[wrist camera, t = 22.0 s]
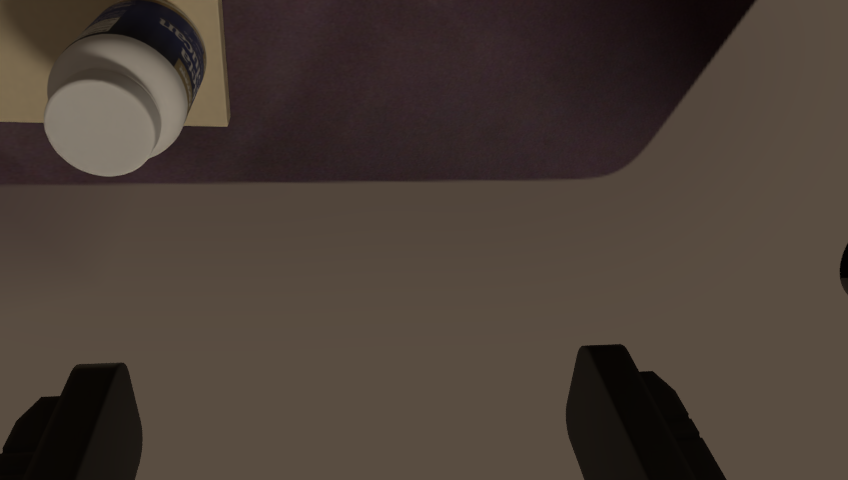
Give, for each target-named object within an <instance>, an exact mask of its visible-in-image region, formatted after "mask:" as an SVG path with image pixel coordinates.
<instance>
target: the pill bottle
mask: <svg viewBox="0 0 848 480" xmlns="http://www.w3.org/2000/svg"><path fill="white" fill-rule="evenodd" d="M206 66H207V53H206V47H205V44H204V40H203V38H202V36H201V34H200V32H199V30H198V29H197V27H196V25H195V24H194V23H193V22H192V21H191V19H190V18H189V17H188V16H187V15H186V14H184V13H183V12H182V11H181V10H179V9H178V8H177V7H175V6H173V5H172V4H170V3H168V2H165V1H163V0H120V1H118V2H116V3H114V4H112V5H111V6H109V7H108V8H107V9H105V10H104V11H103V12H102V13H101V14H100V15H99V16H98V17H97V18H96V19H95V20H94V21H93V22H92V23H91V24H90V25H89V26H88V27H87V28H86V29H85V30H84V31H83V32H82V33H81V34H80V35H79V36H78V37H77V38H76V39H75V40H74V41H73V42H72V43H71V44H70V45H69V46H68V47H67V48H66V49H65V50H64V51H63V52H62V54H61V55H60V56H59V57H58V59H57V60H56V61H55V63H54V65H53V67H52V69H51V72H50V74H49V78H48V84H47V96H48V102H47V104H46V108H45V112H44V127H45V131H46V135H47V137H48V140H49V141H50V143H51V145H52V146H53V148H54V149H55V150H56V152H57V153H58V154H59V155H60V156H61V157H62V158H63V159H64V160H65V161H67V162H68V163H69V164H71V165H72V166H74V167H76V168H78V169H79V170H82V171H84V172H87V173H90V174H94V175H99V176H118V175H124V174H127V173H130V172H132V171H134V170H136V169H137V168H139V167H140V166H142V165H143V164H144V163H145V162H146V161H147V160H148V158H151V157H154V156H156V155H158V154H160V153H161V152H163V151H164V150H166V149H167V148H168V147H169V146H170V145H171V144H172V143H173V142H174V141H175V140H176V138H177V137H178V135H179V134H180V132H181V130H182V128H183V125H184V123H185V121H186V118H187V116H188V113H189V111H190V109H191V106H192V104H193V101H194V99H195V97H196V94H197V92H198V90H199V87H200V85H201V83H202V80H203V78H204V75H205V71H206Z"/></svg>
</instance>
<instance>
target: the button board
mask: <svg viewBox="0 0 848 480" xmlns="http://www.w3.org/2000/svg"><path fill="white" fill-rule="evenodd" d="M118 1H120V0H0V122H36V123H44V112H45V108H46V104H47V102H48V96H47V84H48V78H49V74H50V72H51V69H52V67H53V65H54V63H55V61H56V60H57V59H58V57H59V56H60V55H61V54H62V52H63V51H64V50H65V49H66V48H67V47H68V46H69V45H70V44H71V43H72V42H73V41H74V40H75V39H76V38H77V37H78V36H79V35H80V34H81V33H82V32H83V31H84V30H85V29H86V28H87V27H88V26H89V25H90V24H91V23H92V22H93V21H94V20H95V19H96V18H97V17H98V16H99V15H100V14H101V13H102V12H103V11H104V10H105V9H107V8H108V7H109V6H111V5H112V4H114V3H116V2H118ZM163 1H165V2H168V3H170V4H172V5H173V6H175V7H177V8H178V9H179V10H181V11H182V12H183V13H184V14H186V15H187V16H188V17H189V18H190V19H191V21H192V22H193V23H194V24H195V25H196V27H197V29H198V30H199V32H200V34H201V36H202V38H203V40H204V44H205V47H206V53H207V66H206V71H205V75H204V78H203V80H202V83H201V85H200V87H199V90H198V92H197V94H196V97H195V99H194V101H193V104H192V106H191V109H190V111H189V113H188V116H187V118H186V121H185V123H184V125H183V126H222V127H227V126H228V123H229V120H230V103H229V90H228V77H227V64H226V51H225V38H224V25H223V12H222V0H163Z"/></svg>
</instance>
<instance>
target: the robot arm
mask: <svg viewBox="0 0 848 480" xmlns="http://www.w3.org/2000/svg"><path fill="white" fill-rule="evenodd" d="M566 424H567V430H568V435H569V439H570V441H571V444H572V447H573V450H574V453H575V455H576V458H577V461H578V463H579V466H580V469H581V471H582V474H583V477H584V480H726V478H725V476H724V475H723V473H722V471H721V470H720V468H719V466H718V464H717V463H716V461H715V459H714V457H713V456H712V454H711V452H710V450H709V449H708V447H707V445H706V444H705V442H704V440H703V439H702V438H700V436H699V431H698V430H697V428H696V426H695V424H694V423H693V421H692V419H689V417H688V412H687V411H686V409H685V407H684V405H683V404H682V402H681V400H680V399H679V397H678V395H677V393H676V392H675V390H673V389H672V388H671V387H670V386H669V385H668V384H667V383H666V382H664V381H663V380H662V379H661V378H660V377H659V376H657V375H656V374H655V373H654V372H653V371H648V372H647V371H646V372H639V371H638V369H637V367H636V365H635V363H634V362H633V360H632V358H631V356H630V354H629V352H628V351H627V349H626V348H625V346H623V345H621V344H615V345H590V346H581V348H580V349H579V351H578V354H577V358H576V363H575V368H574V372H573V377H572V381H571V386H570V391H569V396H568V400H567V406H566ZM141 452H142V426H141V421H140V417H139V413H138V409H137V404H136V401H135V396H134V392H133V388H132V384H131V379H130V375H129V371H128V369H127V366H126V365H125V364H124V363H101V364H79V365H76V366H75V367H74V368H73V370H72V371H71V373H70V376H69V378H68V380H67V383H66V384H65V387H64V389H63V391H62V393H61V395H60V396H54V397H41V398H40V399H39V400H38V401H37V402H36V403H35V404H34V405H33V406H32V407H31V408H30V409H28V411H26V412H25V413H24V414H23V415H22V416H21V417H20V418H19V419H18V420H17V421H16V423H15V425H14V427H13V429H12V431H11V433H10V435H9V437H8V439H7V441H6V443H5V445H4V447H3V453H2V454H0V480H135V477H136V473H137V470H138V466H139V463H140V457H141Z"/></svg>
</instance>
